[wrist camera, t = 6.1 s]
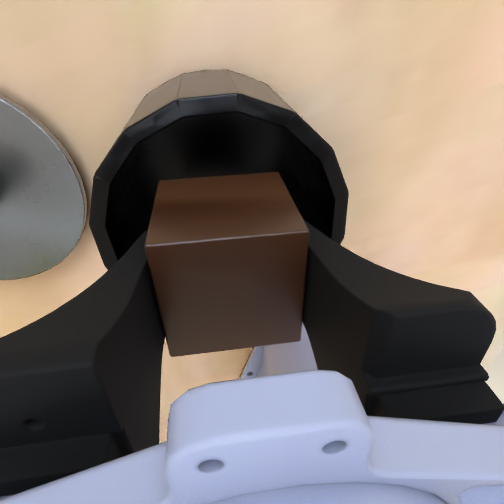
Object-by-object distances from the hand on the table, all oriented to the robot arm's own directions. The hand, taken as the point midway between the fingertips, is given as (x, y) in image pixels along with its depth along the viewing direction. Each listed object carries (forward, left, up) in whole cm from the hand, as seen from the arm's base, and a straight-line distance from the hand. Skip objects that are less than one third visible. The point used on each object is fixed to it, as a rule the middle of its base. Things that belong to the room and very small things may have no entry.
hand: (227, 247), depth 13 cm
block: (0, 0, -1) cm, 1 cm away
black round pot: (0, 0, -8) cm, 8 cm away
